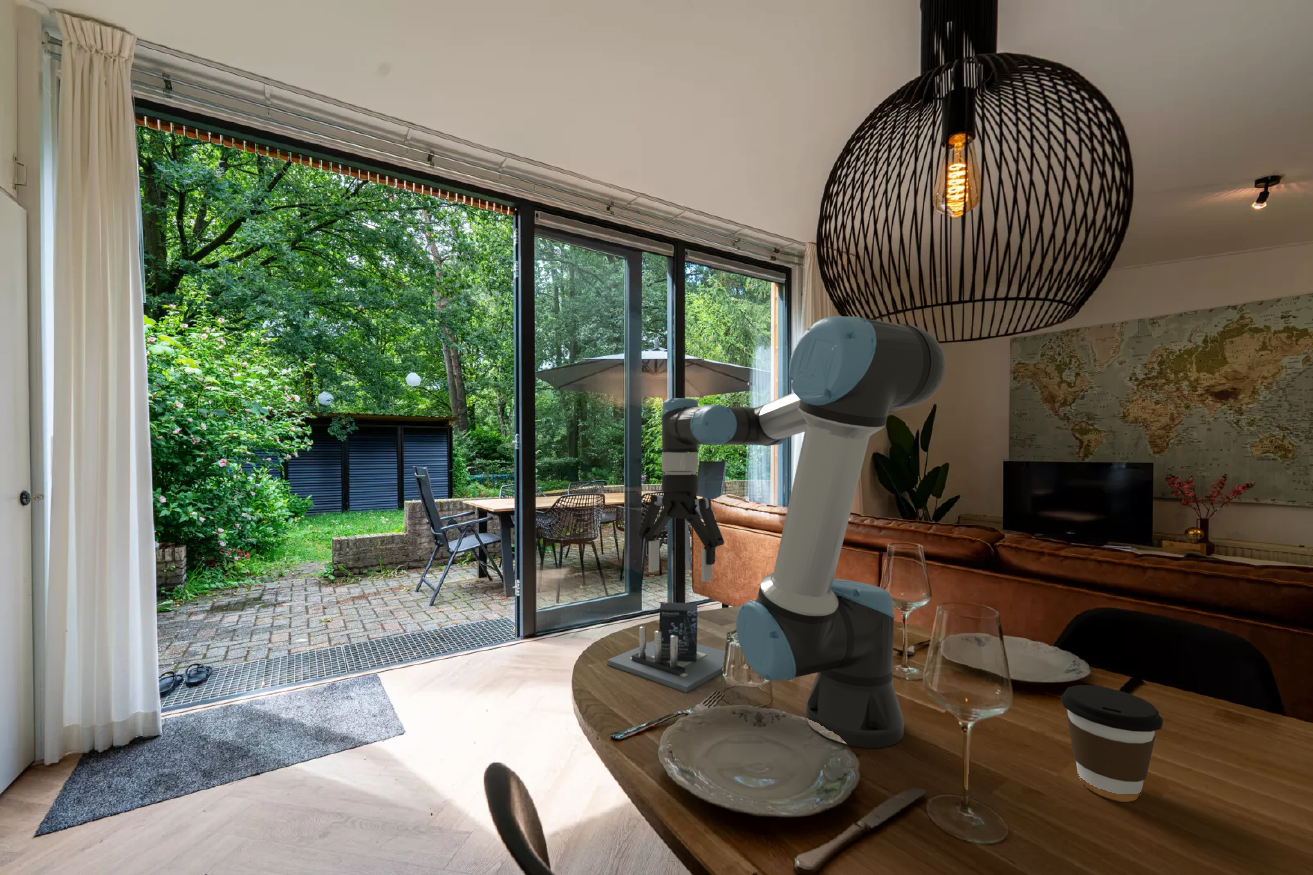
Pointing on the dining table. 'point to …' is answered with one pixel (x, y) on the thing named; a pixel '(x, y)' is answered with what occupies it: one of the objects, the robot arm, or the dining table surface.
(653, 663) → the header pins
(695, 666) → the slate board
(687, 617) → the box
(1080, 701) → the coffee cup
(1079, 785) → the dining table surface
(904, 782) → the dining table surface
